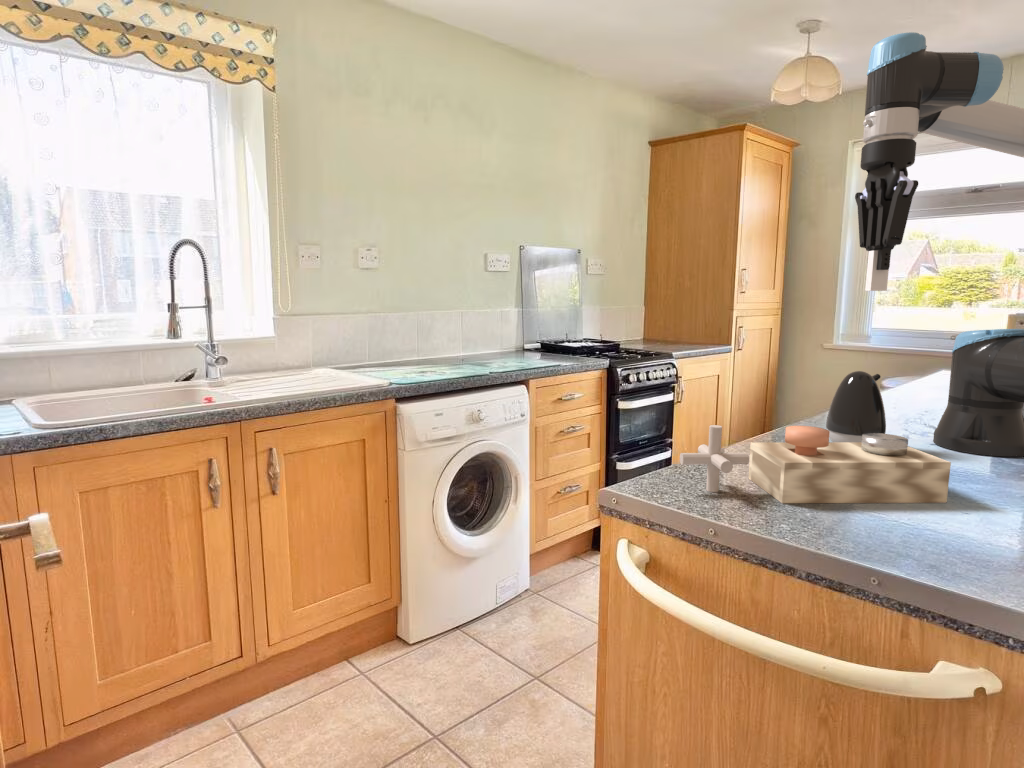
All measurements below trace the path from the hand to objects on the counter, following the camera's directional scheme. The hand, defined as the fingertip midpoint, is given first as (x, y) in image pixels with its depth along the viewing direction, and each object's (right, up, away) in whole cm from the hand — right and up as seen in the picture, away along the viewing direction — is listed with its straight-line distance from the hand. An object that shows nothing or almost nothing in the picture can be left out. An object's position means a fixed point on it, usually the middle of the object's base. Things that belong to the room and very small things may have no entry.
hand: (875, 290), depth 102 cm
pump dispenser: (+7, -28, +18) cm, 34 cm away
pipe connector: (-30, -32, -8) cm, 44 cm away
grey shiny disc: (-4, -31, -8) cm, 32 cm away
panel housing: (-10, -32, -8) cm, 34 cm away
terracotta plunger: (-16, -30, -8) cm, 35 cm away
